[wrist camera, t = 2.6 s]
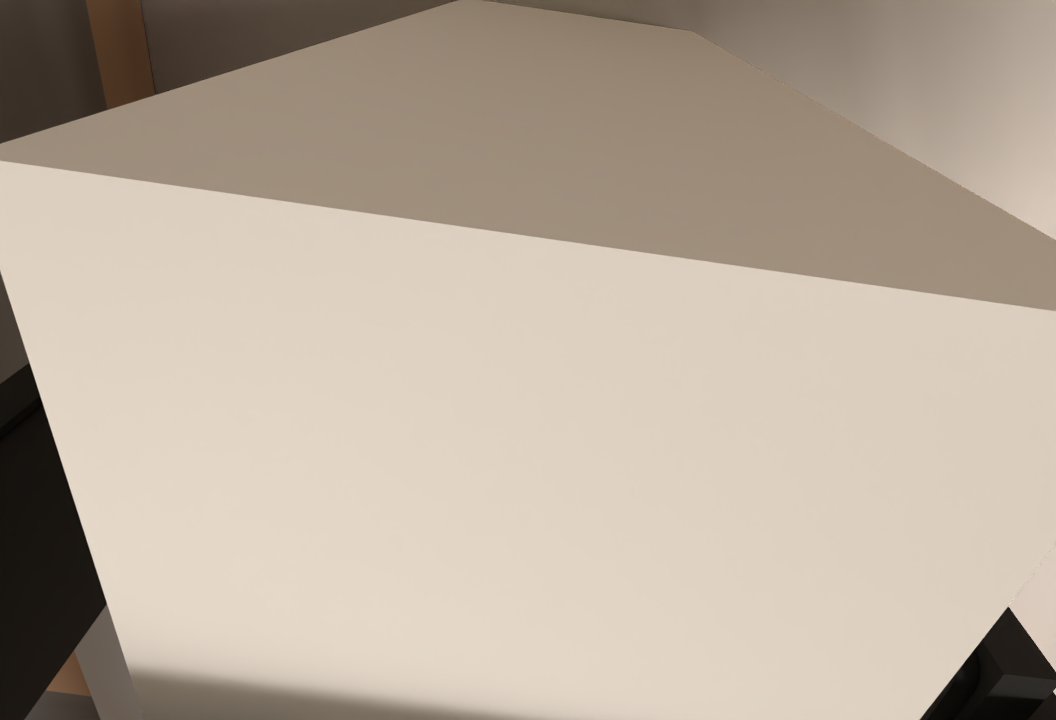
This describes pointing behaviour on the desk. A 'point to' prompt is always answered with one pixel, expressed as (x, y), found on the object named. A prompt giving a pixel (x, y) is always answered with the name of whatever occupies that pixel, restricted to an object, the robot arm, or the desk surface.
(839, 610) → the white rectangular box
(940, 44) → the desk surface
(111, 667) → the door track
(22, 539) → the robot arm
